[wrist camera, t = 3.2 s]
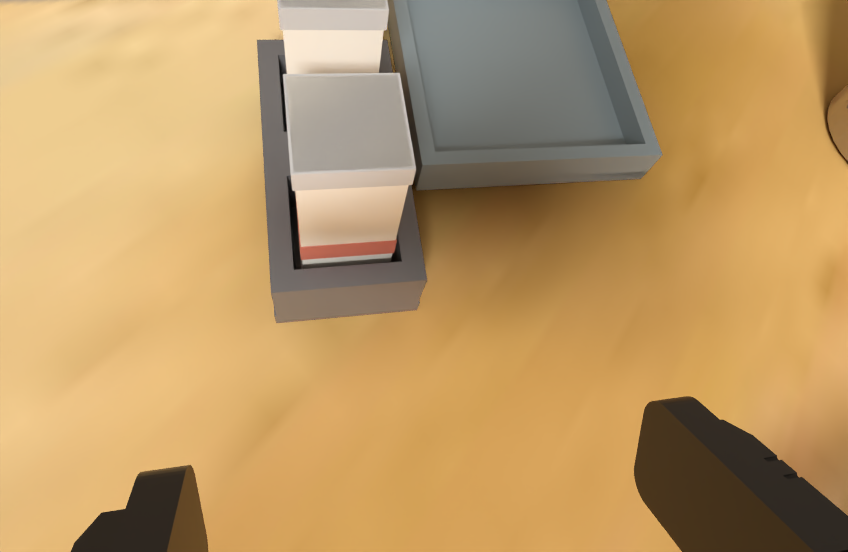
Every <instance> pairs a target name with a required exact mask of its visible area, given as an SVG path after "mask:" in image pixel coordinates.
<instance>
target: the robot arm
mask: <svg viewBox="0 0 848 552" xmlns="http://www.w3.org/2000/svg"><path fill="white" fill-rule="evenodd" d="M827 119H828V125H829V130H830V133H831V135H832V138H833V141H834V142H835V144H836V146H837V147H838V149H839V151H840V152H841V154H842V155H843V156H844V157H845V159H846V160H847V161H848V85H847V86H846V87H845V88H843V89H842V90H841V91H840V92H839V93H838V94H837V95H836V96H835V97H834V98H833V99H832V101H831V103H830V105H829V108H828V117H827ZM634 476H635V482H636V486H637V489H638V492H639V494H640V496H641V498H642V500H643V501H644V503H645V504H646V505H647V507H648V508H649V509H650V511H651V512H652V513H653V514H654V516H655V517H656V518H657V520H658V521H659V522H660V524H661V525H662V526H663V527H664V529H665V530H666V531H667V533H668V534H669V535H670V536H671V538H672V539H673V540H674V542H675V543H676V544H677V546H678V547H679V548H680V549H681V551H682V552H848V516H847V515H846V514H845V513H844V512H843V511H841V510H840V509H839V508H838V507H837V506H835V505H834V504H833V503H832V502H831V501H830V500H828V499H827V498H826V497H825V496H824V495H822V494H821V493H820V492H819V491H818V490H817V489H815V488H814V487H813V486H812V485H811V484H810V483H808V482H807V481H806V480H805V479H804V478H802V477H800V478H799V477H798V476H797V472H795V471H794V470H793V469H792V468H791V467H789V466H788V465H787V464H786V463H785V462H784V461H782V460H778V459H777V455H775V454H774V453H773V452H772V451H771V450H769V449H768V448H767V447H766V446H765V445H764V444H762V443H761V442H760V441H759V440H758V439H756V438H755V437H754V436H753V435H751V434H749V433H747V432H745V431H743V430H742V429H740V428H738V427H736V426H734V425H732V424H730V423H728V422H726V421H724V420H719V419H718V418H717V417H716V416H715V415H714V414H713V413H711V412H710V411H709V410H708V409H707V408H706V407H705V406H703V405H702V404H701V403H700V402H699V401H698V400H696V399H695V398H693V397H689V396H686V397H679V398H672V399H665V400H658V401H652V402H649V403H648V404H647V406H646V407H645V410H644V414H643V420H642V425H641V431H640V437H639V443H638V448H637V454H636V460H635V466H634ZM71 552H208V542H207V535H206V530H205V524H204V519H203V514H202V509H201V504H200V499H199V493H198V488H197V483H196V478H195V473H194V470H193V468H192V466H191V465H187V466H180V467H173V468H166V469H159V470H152V471H145V472H140V473H139V474H138V476H137V478H136V480H135V483H134V486H133V489H132V492H131V495H130V497H129V500H128V503H127V506H126V509H123V510H116V511H110V512H103V513H101V514H100V515H99V516H98V517H97V518H96V519H95V521H94V522H93V523H92V524H91V525H90V526H89V527H88V528H87V530H86V531H85V532H84V533H83V534H82V535H81V536H80V537H79V538H78V540H77V541H76V542H75V543H74V545H73V548H72V550H71Z"/></svg>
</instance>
